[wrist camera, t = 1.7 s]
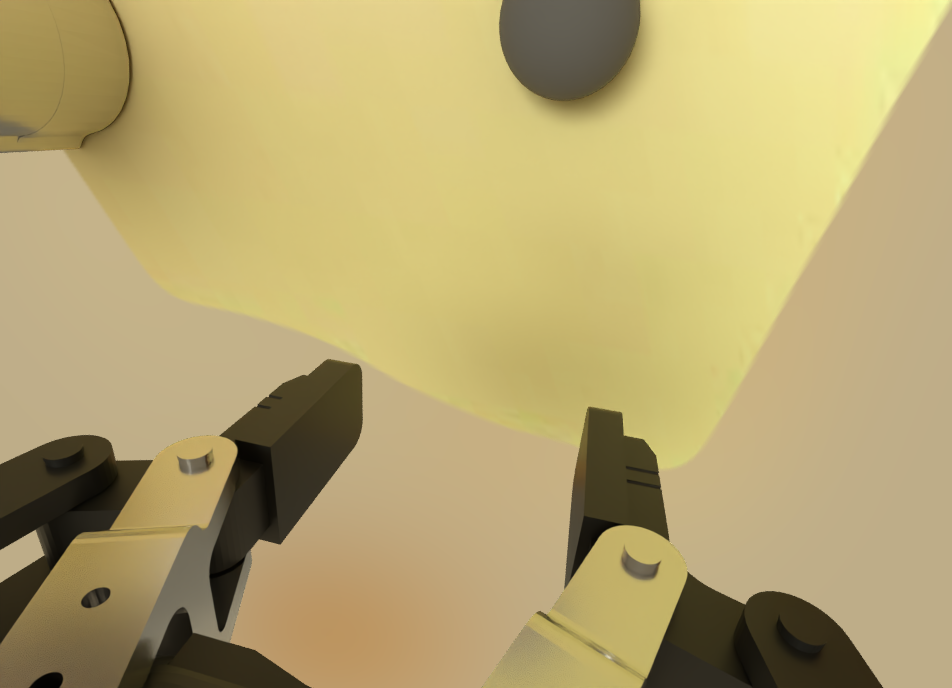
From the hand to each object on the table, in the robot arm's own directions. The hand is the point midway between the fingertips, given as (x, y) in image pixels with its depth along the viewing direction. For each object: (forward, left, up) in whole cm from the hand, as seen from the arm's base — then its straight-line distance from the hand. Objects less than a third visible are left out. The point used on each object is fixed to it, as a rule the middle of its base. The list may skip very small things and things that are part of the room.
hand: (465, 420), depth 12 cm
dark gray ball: (+8, +6, -15) cm, 18 cm away
